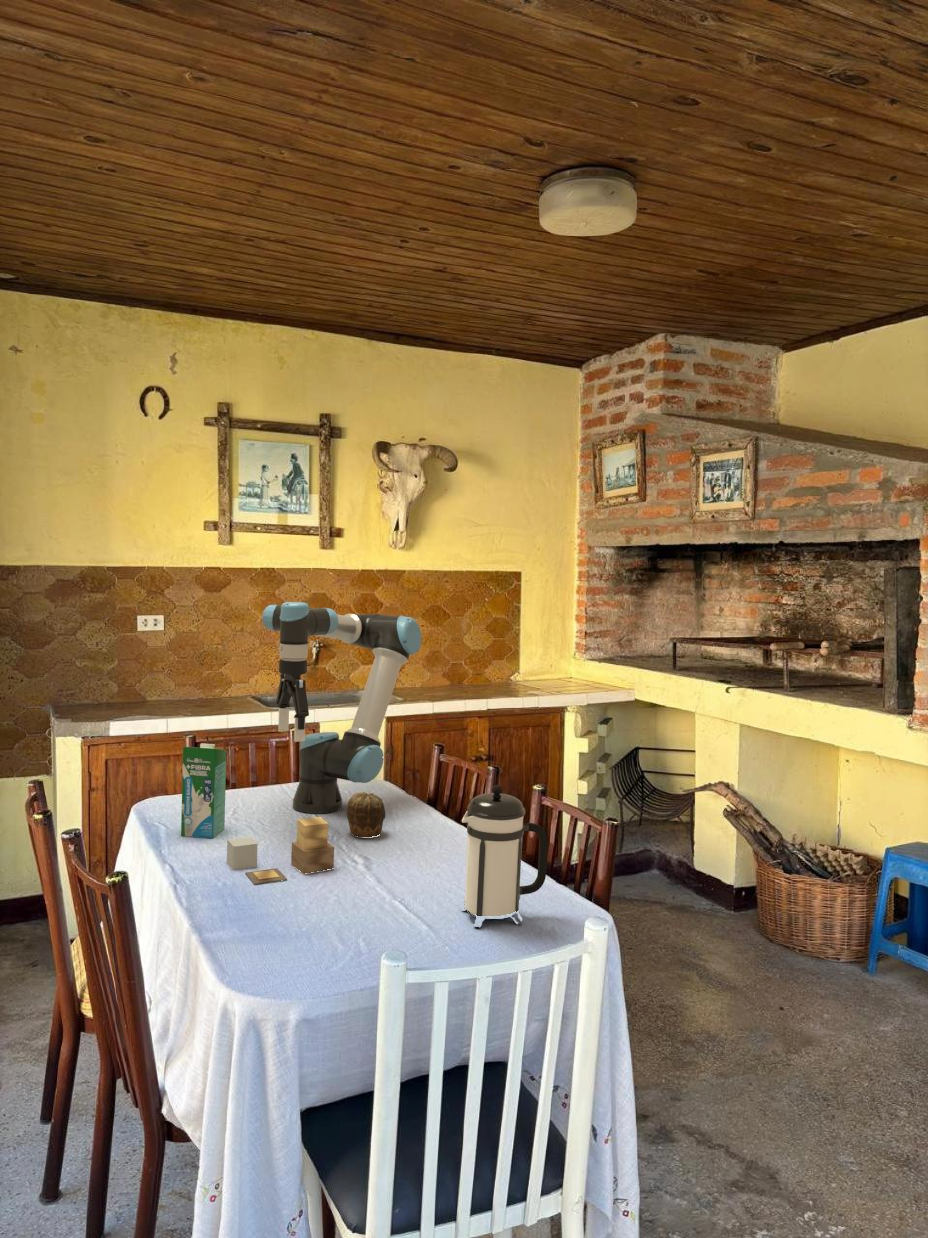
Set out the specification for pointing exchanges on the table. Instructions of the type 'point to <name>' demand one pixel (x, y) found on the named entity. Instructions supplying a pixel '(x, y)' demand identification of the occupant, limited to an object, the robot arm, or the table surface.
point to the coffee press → (498, 854)
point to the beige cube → (242, 853)
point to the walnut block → (312, 858)
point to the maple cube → (312, 833)
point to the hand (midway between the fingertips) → (291, 736)
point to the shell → (365, 814)
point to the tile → (265, 876)
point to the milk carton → (203, 791)
